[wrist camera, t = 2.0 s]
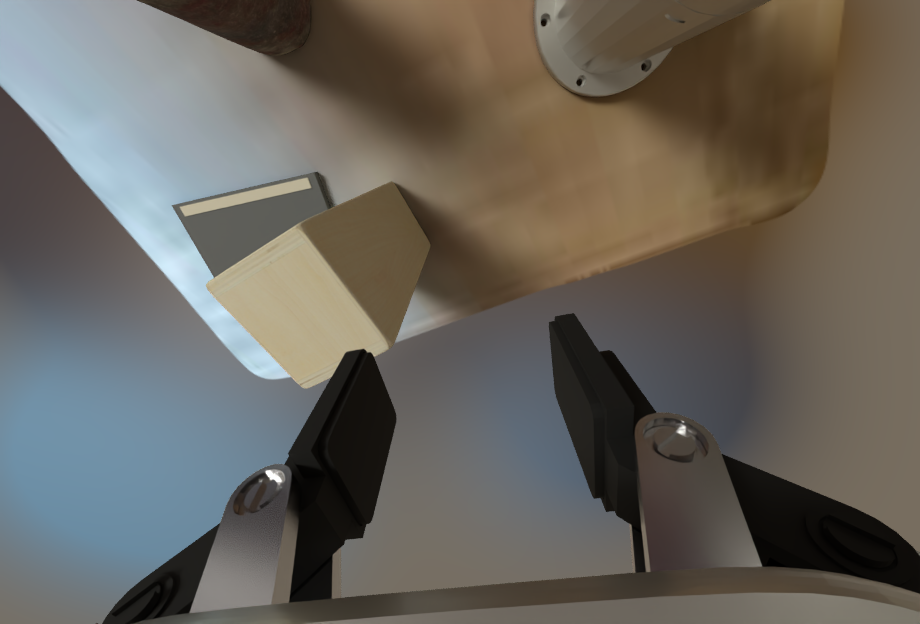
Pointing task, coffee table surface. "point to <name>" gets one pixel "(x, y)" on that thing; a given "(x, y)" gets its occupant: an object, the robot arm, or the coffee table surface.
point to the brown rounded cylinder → (247, 21)
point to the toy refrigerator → (329, 284)
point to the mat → (249, 218)
